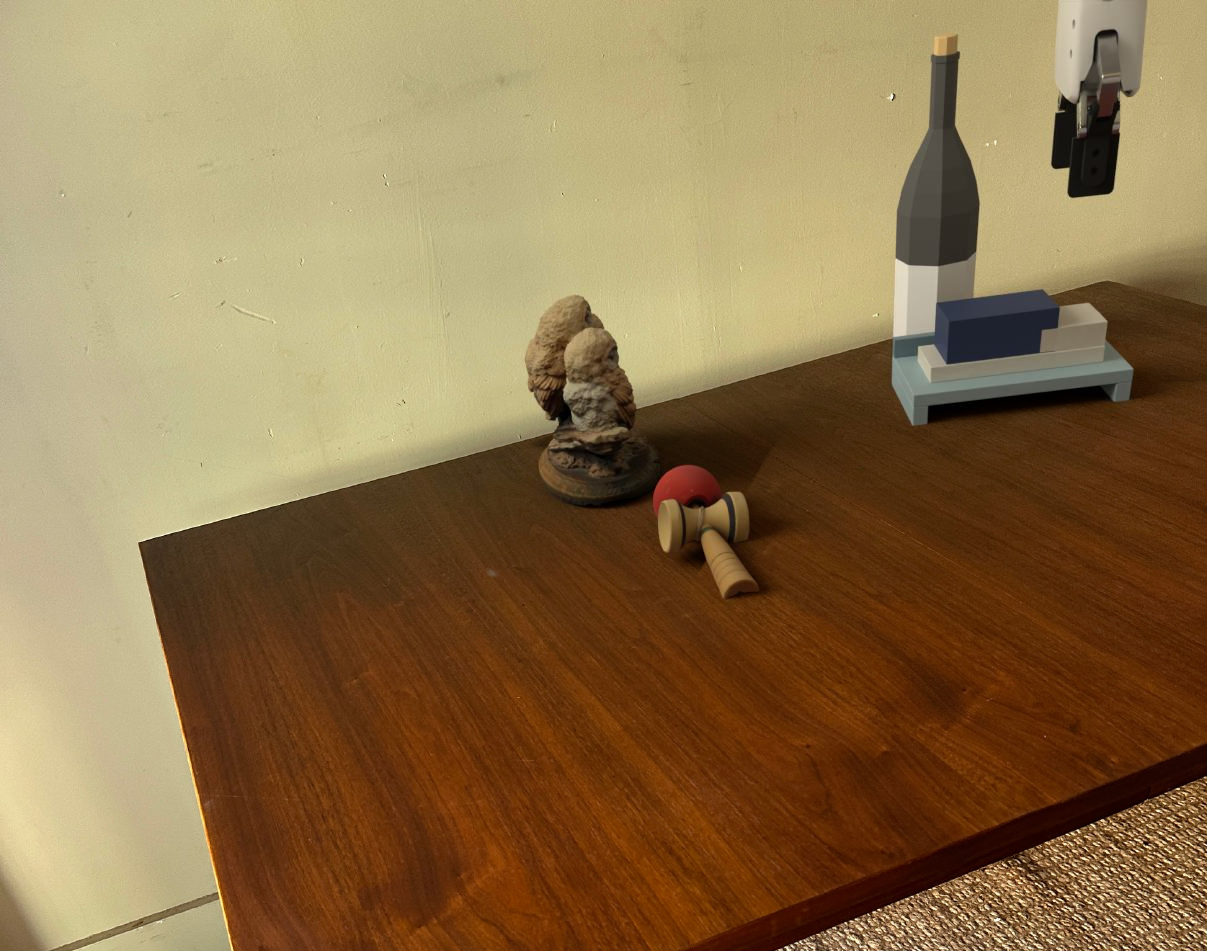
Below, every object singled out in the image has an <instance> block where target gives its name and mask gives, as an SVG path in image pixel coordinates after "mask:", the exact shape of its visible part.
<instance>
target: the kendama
mask: <svg viewBox="0 0 1207 951" xmlns="http://www.w3.org/2000/svg"><path fill="white" fill-rule="evenodd" d="M652 507H653V512H654V515H655V517H656V519H657V529H658V537H659V543H660V546H661V549H662V550H663V552H664V553H666V554H678V553H679V552H680V551H681V549H683V548H684V547H685V546H686V545H687V544H688V543H690V542H693V541H697V542H701V546H702V549H703V553H704V556H705V560H706V562H707V564H708V567H709V569H710V571H711V574H712V577H713V579H714V581H715V583H716V585H717V588H718V590H719V592H720V595H721V598H722V599H723V600H727V599H728V598H730V597H733V596H735V595H738V593H739V594H744V593H749V592H750V593H751V592H753V593H755V592H756V593H757V592H760V587H759V585H758V583H757V581H755V579H754V578H753V576H751V574H750V573H749V571H748V570H747V569H746V567H745V566H744V564H743V563H742V561H741V560H740V559H739V557H738V556H737V554H736V552H734V550H733V549H732V548H731V546H730V545H729V543H728V542H731V543H740V542H745V541H748V539H749V534H750V512H749V506H748V504H747V499H746V497H745V496H744V494H743V493H742V492H741V491H728V492H725V493H724V494H723V493H722V490H721V486H720V484H719V483H718V480H717V479H716V478H715V477H714V475H713V474H712V473H711V472H709V471H708V470H707V469H705V468H703V467H701V466H697V465H693V464H684V465H679V466H676V467H674V468H672V469H670V470H669V471H667V472H666V473H664V474H663V476H662V477H661V478H659V480H658V481H657V483H656V485H655V489H654V492H653V498H652Z"/></svg>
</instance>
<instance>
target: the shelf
mask: <svg viewBox="0 0 1207 951" xmlns="http://www.w3.org/2000/svg"><path fill="white" fill-rule="evenodd" d="M1097 311H1098V310H1097ZM1098 312H1099V313H1100V314H1101V315H1102V316H1103V314H1102V313H1101V312H1100V311H1098ZM934 336H935V332H929V333H921V334H913V335H905V336H897V337H893V336H892V357H891V358H892V359H891V361H892V362H891V366H892V367H891V386H892V388H893V390H894V392H895V394H896V396H897V398H898V400H899V402H900V404H901V405H902V408H903V409H904V412H905V414H906V416H907V418H908V420H909V421H910V423H911V425H912V426H921V425H927V424H928V417H929V407H931V406H937V405H945V404H953V403H962V402H971V401H978V400H987V399H995V398H996V399H997V398H1005V397H1013V396H1020V395H1029V394H1037V393H1038V394H1039V393H1047V392H1054V391H1055V392H1056V391H1062V390H1063V391H1064V390H1071V389H1078V388H1079V389H1080V388H1088V387H1095V386H1099V387H1100V388H1101V389H1102V390H1103V391H1104V393H1105V394H1107V396H1108V397H1109V398H1110V400H1112V401H1113V403H1114V402H1115V403H1117V402H1126V401H1130V397H1131V389H1132V384H1133V383H1132V382H1133V377H1134V370H1135V369H1134V367H1132V365H1131V364H1130V363H1129V362H1128V361H1127V360H1126V359H1125V358H1124V357H1123V356H1122V354H1120V353H1119V352H1118V351H1117V350H1116V349H1115V347H1113V346H1112V345H1111V344H1110V342H1108V341H1107V339H1105V345H1104V346H1105V351H1104V358H1103V362H1099V363H1091V364H1082V365H1074V366H1066V367H1058V368H1050V369H1041V370H1033V371H1025V372H1017V373H1009V374H1000V375H992V376H984V377H976V378H968V379H959V380H951V381H943V382H935V383H930V382H929V380H928V378H927V377H926V375H925V373H924V371H923V370H922V368H921V366H920V364H919V363H918V346H925V345H933V344H934Z"/></svg>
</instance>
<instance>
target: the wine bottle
mask: <svg viewBox="0 0 1207 951" xmlns="http://www.w3.org/2000/svg"><path fill="white" fill-rule="evenodd" d="M958 38H959V34H958V33H955V32H947V33H941V34H937V35H935V36H934V41H933V42H934V44H933V45H934V46H933V53H932V54H931V55H930V63H931V67H930V92H929V115H928V120H929V121H928V129H927V131H926V133H925V135H924V138H923V140H922V142H921V144H920V145H919V148H918V149H917V152H915V155H914V157H913V159H912V161H911V163H910V165H909V167H908V171H907V173H906V176H905V179H904V182H903V184H902V188H901V191H900V196H899V200H898V204H897V208H896V221H895V222H896V225H895V226H896V228H895V258H894V259H895V260H894V261H895V262H894V263H895V265H894V294H893V295H894V296H893V297H894V299H893V333H892V338H893V337H897V336H905V335H913V334H921V333H929V332H935V316H936V303H938V302H946V301H954V300H962V299H970V298H974V295H975V294H974V293H975V277H976V264H977V250H978V237H979V236H978V234H979V221H980V220H979V219H980V205H981V202H980V195H979V187H978V182H977V177H976V174H975V170H974V166H973V164H972V159H971V157H970V155H969V154H968V151H967V149H966V147H965V145H964V143H963V141H962V138H961V136H960V134H959V132H958V129H957V127H956V116H957V99H958V98H957V96H958V79H959V63H960V62H959V60H960V58H961V51H958V42H959V39H958Z"/></svg>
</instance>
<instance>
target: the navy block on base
mask: <svg viewBox="0 0 1207 951" xmlns="http://www.w3.org/2000/svg"><path fill="white" fill-rule="evenodd" d="M1099 312H1100V311H1099ZM1099 312H1098V310H1097V309H1096V308H1095V307H1094V306H1093V305H1092V304H1091V303H1090V302H1084V303H1075V304H1067V305H1060V306H1059V305H1058V303H1056V301H1055V300H1053V298H1052V297H1051V296H1050V295H1049V294H1048V292H1046V291H1045V290H1044V289H1043V288H1041V289H1033V290H1026V291H1018V292H1010V293H1009V292H1008V293H1003V294H1002V293H1001V294H994V295H986V296H979V297H978V296H977V297H973V298H970V299H962V300H954V301H946V302H938V303H936V316H935V336H934V344H933V345H925V346H918V363H919V364H920V366H921V368H922V370H923V371H924V373H925V375H926V377H927V378H928V380H929V382H930V383H935V382H943V381H951V380H959V379H968V378H976V377H984V376H992V375H1000V374H1009V373H1017V372H1025V371H1033V370H1041V369H1050V368H1058V367H1066V366H1074V365H1082V364H1091V363H1099V362H1103V358H1104V351H1105V346H1104V345H1105V340H1106V337H1107V331H1108V325H1109V324H1108V323H1109V322H1108V320H1107V319H1106V318H1105V317H1104V316H1103V314H1102V313H1101V312H1100V313H1101V314H1102V315H1101V314H1100V313H1099Z"/></svg>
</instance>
